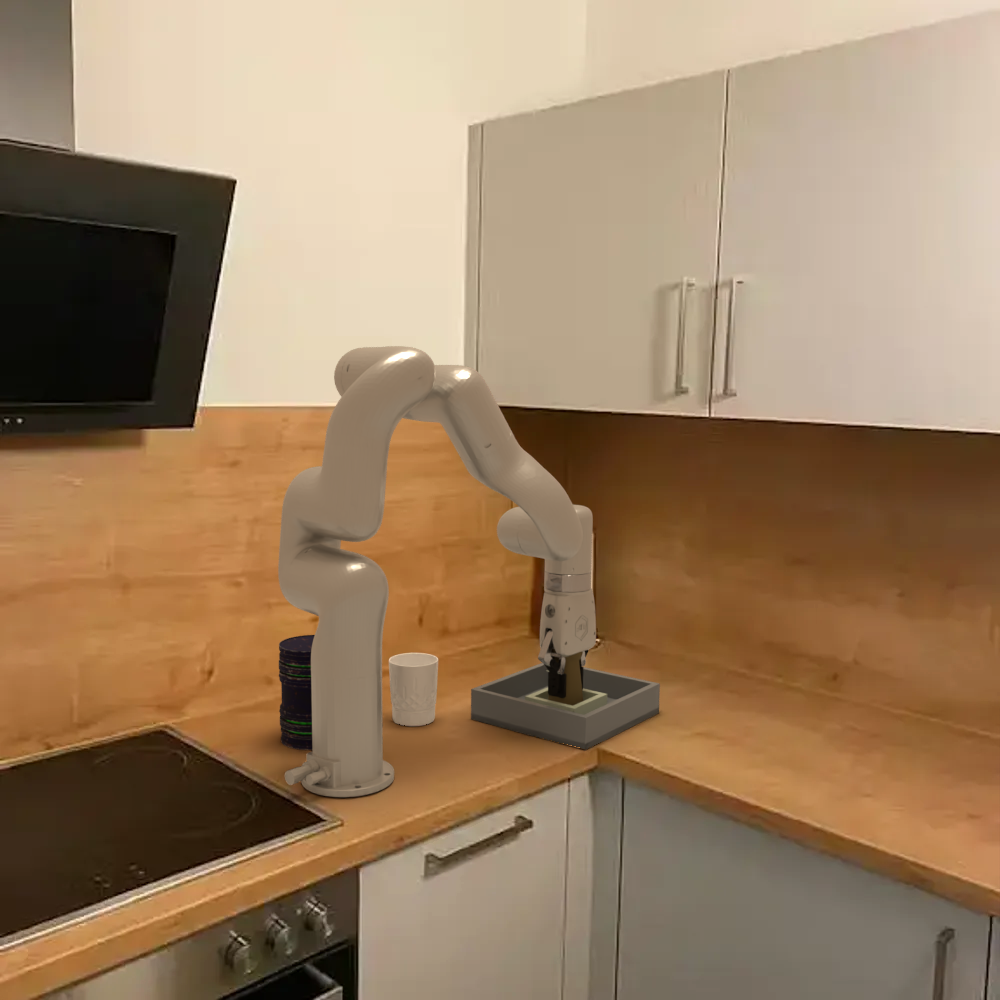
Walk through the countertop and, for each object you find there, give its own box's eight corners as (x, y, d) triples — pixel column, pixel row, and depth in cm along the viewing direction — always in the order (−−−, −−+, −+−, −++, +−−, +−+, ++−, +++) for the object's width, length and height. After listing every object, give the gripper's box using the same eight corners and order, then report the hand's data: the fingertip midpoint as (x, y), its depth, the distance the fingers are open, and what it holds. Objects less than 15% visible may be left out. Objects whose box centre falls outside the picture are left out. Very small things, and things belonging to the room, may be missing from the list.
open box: (585, 750, 155) (585, 717, 154) (471, 719, 168) (471, 689, 167) (659, 713, 172) (659, 683, 171) (550, 687, 185) (550, 659, 185)
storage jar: (286, 753, 152) (284, 654, 151) (274, 732, 162) (272, 637, 160) (353, 745, 156) (352, 647, 154) (337, 724, 165) (336, 632, 163)
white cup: (444, 724, 166) (444, 663, 164) (396, 730, 163) (396, 668, 161) (429, 709, 173) (429, 650, 172) (383, 714, 170) (383, 655, 169)
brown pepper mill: (581, 713, 166) (583, 645, 165) (544, 710, 167) (545, 643, 166) (586, 701, 172) (587, 636, 171) (550, 698, 173) (551, 634, 172)
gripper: (556, 593, 158) (554, 710, 161) (615, 577, 171) (612, 685, 174) (517, 587, 163) (515, 700, 165) (577, 571, 176) (575, 677, 178)
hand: (565, 691), depth 169 cm, fingers closed on brown pepper mill, 4 cm apart
